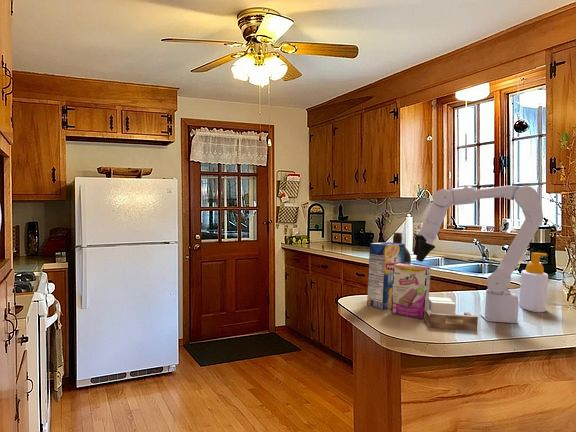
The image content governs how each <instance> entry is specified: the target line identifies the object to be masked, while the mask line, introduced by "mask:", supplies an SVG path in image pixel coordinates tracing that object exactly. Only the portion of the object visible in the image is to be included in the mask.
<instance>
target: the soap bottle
mask: <svg viewBox="0 0 576 432" xmlns="http://www.w3.org/2000/svg"><path fill="white" fill-rule="evenodd" d="M547 255H548V254H547V253H543V252H531V258H530V260H531V261H530V262H529V263H527V264H526V267H525V269H522V270H521V273H520V286H519V287H520V288H519V300H518V301H519V307H520V308H521V309H524V310H526V311H529V312H534V313H544V312H546V310H547V301H548V285H549V284H548V282H549V275H548V273H546V272H544V271H545V270H544V269H545V268H544V266H543V264H542V263H541V262H540V260H541V259H540V258H541V257H543V256H544V257H547Z"/></svg>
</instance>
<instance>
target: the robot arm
mask: <svg viewBox="0 0 576 432" xmlns="http://www.w3.org/2000/svg"><path fill="white" fill-rule="evenodd" d="M432 198H433V199H432V200H433V201H432V202H431V205H430V206H429V210H428V212H427V213H426V217H425V218H424V220H423V223H422V225H421V228H420V229H416V230H415V232H416V234H414V235H415V242H414V247H413V252H412V253H413V255H415V256H416V257H415V259H416V261H417V262H420V263H422V262H423V261H424V260H425V259H426V258H427V256H428V255H429V253H431V252H432V251H433V250H434V249H436V245H434V244H433V243H434V241H435V240H436V239H437V235H438V233H439V230H440V229H441V226H442V224H443V222H444V219H445V217H446V215H447V212H448V209H449V208H450V207H449V206H451V205H452V206H462V205H470V204H474V203H475V202H476V201H478V200H483V199H494V198H497V199H498V198H503V199H504V198H505V199H507V200H512V201H515V203H516V204H517V205H518V206H519V207H520V209H521V211H522V213H523V216H524V218H525V219H524V221H523V223H522V224H521V226H520V228H519V229H518V231H517V233H516V235H515V237H514V238H513V240H512V242H511V243H510V245H509V247H508V249H507V251H506V253H505V255H504V256H503V258H502V260H501V262H500V263H499V264H498V266H497V268H496V269H495V270H494V271H493V272H492V273H491V274H489V276H488V277H487V279H486V286H487V289H486V290H485V303H484V304H485V305H484V306H485V307H484V313H481V314H480V316H481V317H482V318H483V319H484V320H486V322H494V323H509V324H519V321H518V320H519V307H520V305H519V301H520V300H519V297H518V294H516V293H511V290H510V289H509V286H510V284H511V282H512V281H511V277H512V274H513V272H514V271H515V269H516V267H517V265H518V264H519V262H520V261H521V258H522V256H523V255H524V253H525V252H526V250H527V248H528V247H529V245H530V243H531V241H532V240H533V238H534V236H535V234H536V233H537V231H538V229H539V227H540V226H541V224H542V222H543V219H544V214H543V213H544V212H543V207H542V201H541V197H540V195H539V193H538V192H537V190H536V188H533V187H532V186H529V185H523V186H519V185H502V186H495V187H489V188H487V187H486V188H482V189H480V188H479V189H476V188H475V187H474V186H469V184H467V185H463V187H455V188H453V186H452V187H448V189H445V188H442V189H438V190H436V191H435V192H434V194H433V197H432ZM417 233H418V234H417Z"/></svg>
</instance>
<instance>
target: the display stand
mask: <svg viewBox="0 0 576 432" xmlns="http://www.w3.org/2000/svg"><path fill="white" fill-rule="evenodd" d="M478 319H479V317H478V316H477V315H472V314H471V313H470V312H464V313H463V314H456V313H455V314H440V313H432V312H431V311H430V310H425V319H424V321H425V322H426V323H427V326H429V327H430V328H436V329H448V330H449V329H450V330H451V329H452V330H463V331H475V332H476V331H478V321H479V320H478Z"/></svg>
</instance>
